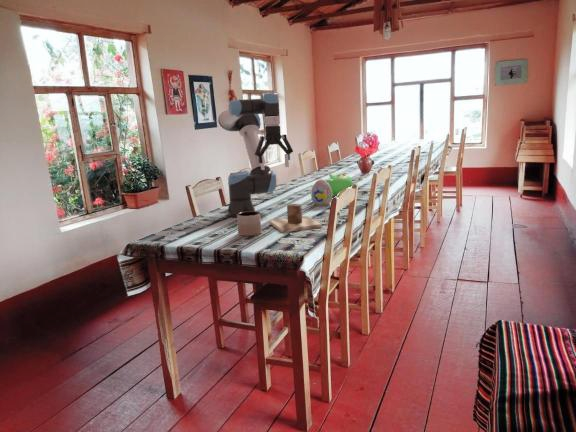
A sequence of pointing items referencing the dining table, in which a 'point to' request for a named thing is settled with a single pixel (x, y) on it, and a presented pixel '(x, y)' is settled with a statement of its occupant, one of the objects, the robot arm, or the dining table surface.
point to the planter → (249, 223)
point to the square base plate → (295, 220)
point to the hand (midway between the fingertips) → (275, 168)
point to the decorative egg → (321, 193)
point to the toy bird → (339, 182)
